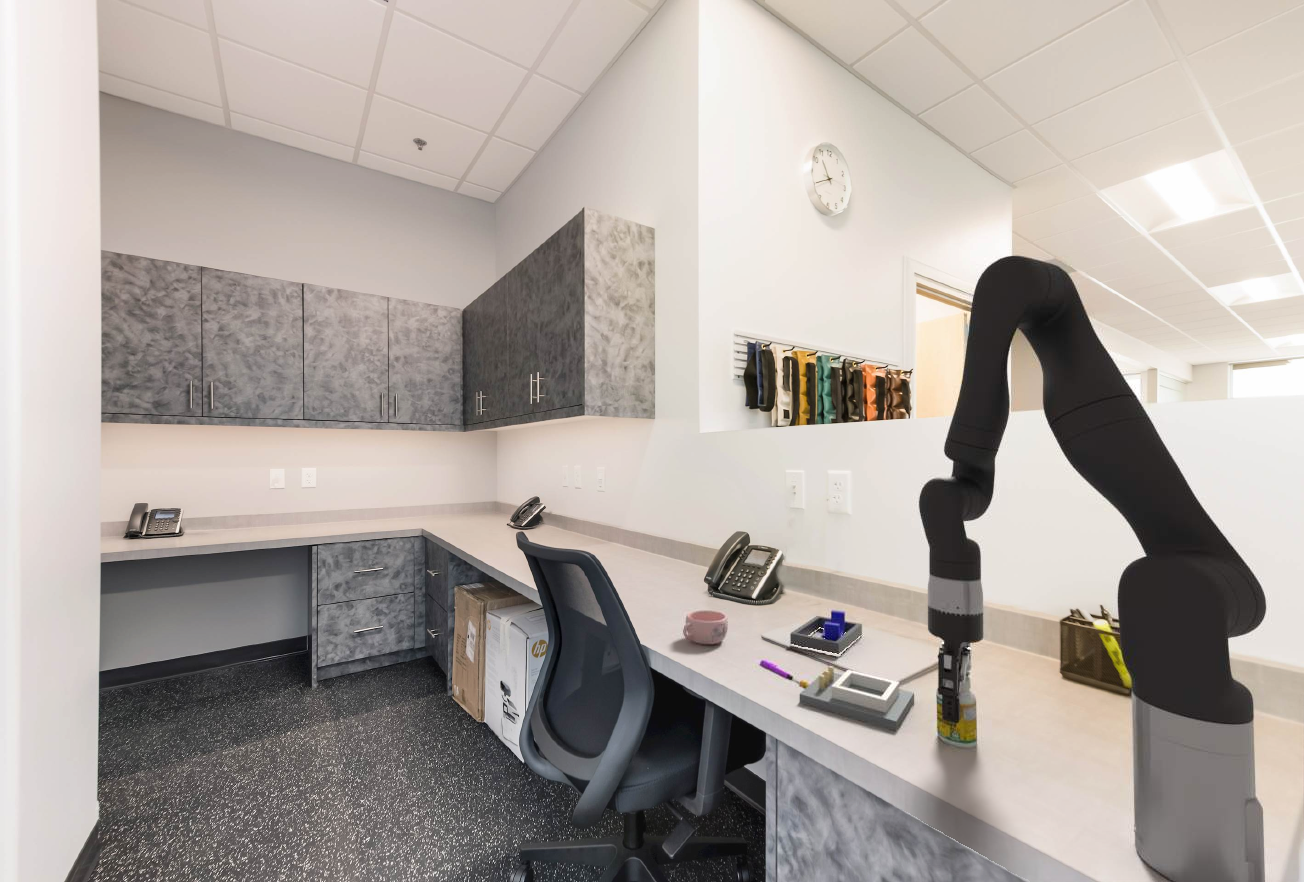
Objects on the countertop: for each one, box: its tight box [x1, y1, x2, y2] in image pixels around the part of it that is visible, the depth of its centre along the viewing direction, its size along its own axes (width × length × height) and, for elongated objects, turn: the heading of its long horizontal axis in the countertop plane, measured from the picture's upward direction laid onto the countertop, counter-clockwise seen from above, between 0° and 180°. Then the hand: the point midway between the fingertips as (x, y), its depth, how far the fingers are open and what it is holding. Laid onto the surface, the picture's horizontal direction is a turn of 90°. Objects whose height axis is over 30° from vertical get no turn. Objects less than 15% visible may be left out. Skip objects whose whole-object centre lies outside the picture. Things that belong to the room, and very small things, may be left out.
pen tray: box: [789, 615, 863, 654], centre depth 126 cm, size 11×17×3 cm, turn 143°
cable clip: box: [821, 609, 846, 641], centre depth 126 cm, size 12×4×6 cm, turn 154°
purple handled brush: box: [760, 659, 811, 689], centre depth 106 cm, size 3×1×16 cm
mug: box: [682, 609, 729, 645], centre depth 126 cm, size 12×10×6 cm
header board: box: [799, 665, 915, 731], centre depth 95 cm, size 16×13×4 cm
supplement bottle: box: [935, 676, 978, 749], centre depth 83 cm, size 5×5×10 cm
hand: (955, 710), depth 83 cm, fingers open, 8 cm apart
